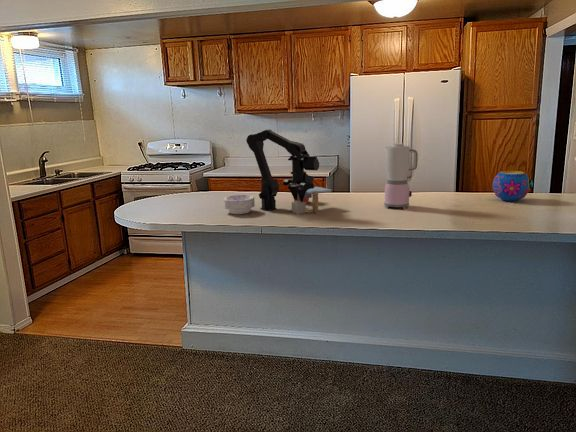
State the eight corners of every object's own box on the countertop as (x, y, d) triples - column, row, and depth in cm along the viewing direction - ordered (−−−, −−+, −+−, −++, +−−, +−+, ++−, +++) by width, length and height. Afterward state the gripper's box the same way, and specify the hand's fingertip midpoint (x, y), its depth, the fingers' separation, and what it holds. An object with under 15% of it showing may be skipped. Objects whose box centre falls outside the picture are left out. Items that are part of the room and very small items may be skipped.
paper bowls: (227, 217, 214) (226, 201, 212) (222, 210, 228) (221, 195, 227) (257, 214, 218) (257, 198, 216) (251, 208, 232) (251, 193, 231)
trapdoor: (310, 198, 216) (310, 192, 216) (297, 195, 226) (296, 189, 226) (331, 195, 223) (331, 189, 223) (317, 192, 233) (317, 186, 232)
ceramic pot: (535, 203, 224) (538, 174, 221) (500, 204, 225) (502, 174, 221) (518, 196, 241) (521, 169, 238) (485, 197, 242) (487, 170, 238)
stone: (297, 213, 217) (297, 203, 215) (291, 212, 221) (291, 202, 220) (305, 212, 219) (305, 202, 218) (300, 210, 223) (299, 201, 222)
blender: (383, 209, 221) (385, 144, 213) (383, 204, 232) (385, 142, 225) (416, 209, 217) (419, 144, 210) (414, 204, 229) (417, 142, 222)
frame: (315, 213, 216) (314, 193, 214) (295, 207, 230) (295, 188, 228) (318, 212, 217) (318, 192, 215) (298, 207, 231) (298, 188, 229)
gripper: (322, 169, 212) (323, 201, 215) (300, 166, 227) (301, 196, 231) (304, 172, 206) (304, 204, 209) (282, 168, 221) (283, 199, 225)
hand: (298, 201), depth 219 cm, fingers open, 4 cm apart
